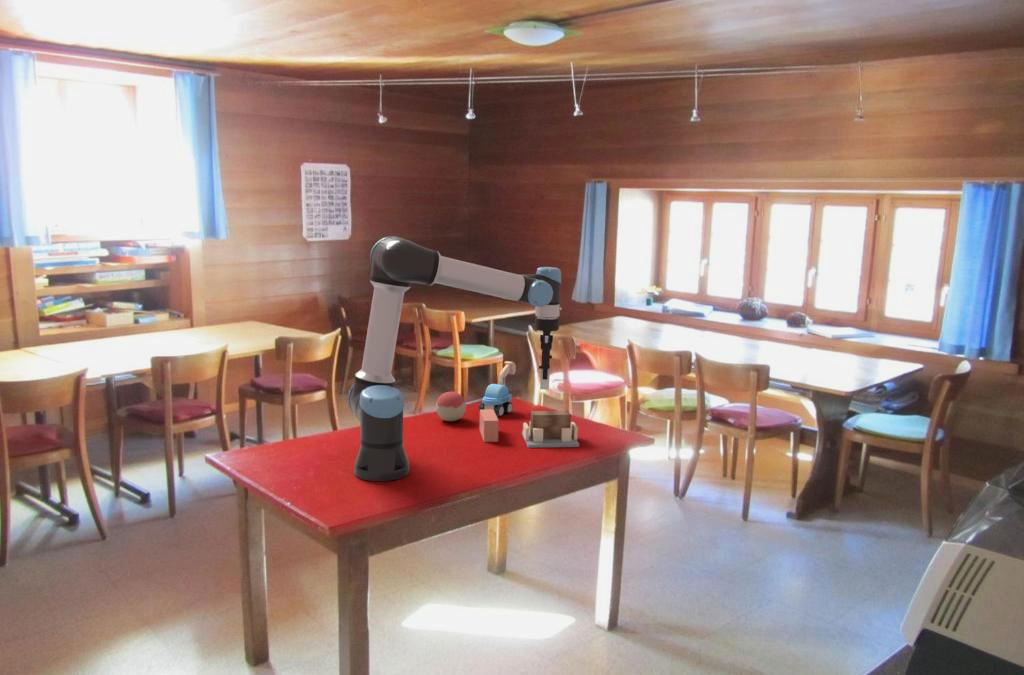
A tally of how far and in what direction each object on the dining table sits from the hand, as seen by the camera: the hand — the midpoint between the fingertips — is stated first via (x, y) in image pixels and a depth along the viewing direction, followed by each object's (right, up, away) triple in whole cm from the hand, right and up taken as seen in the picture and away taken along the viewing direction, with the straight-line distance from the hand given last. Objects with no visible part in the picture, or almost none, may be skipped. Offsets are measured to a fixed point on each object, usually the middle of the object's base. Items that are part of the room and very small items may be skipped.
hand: (544, 384), depth 252 cm
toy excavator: (-14, -12, +35) cm, 40 cm away
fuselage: (+2, -17, +3) cm, 17 cm away
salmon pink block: (-18, -17, +7) cm, 26 cm away
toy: (-31, -14, +23) cm, 41 cm away
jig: (+2, -18, +3) cm, 18 cm away
